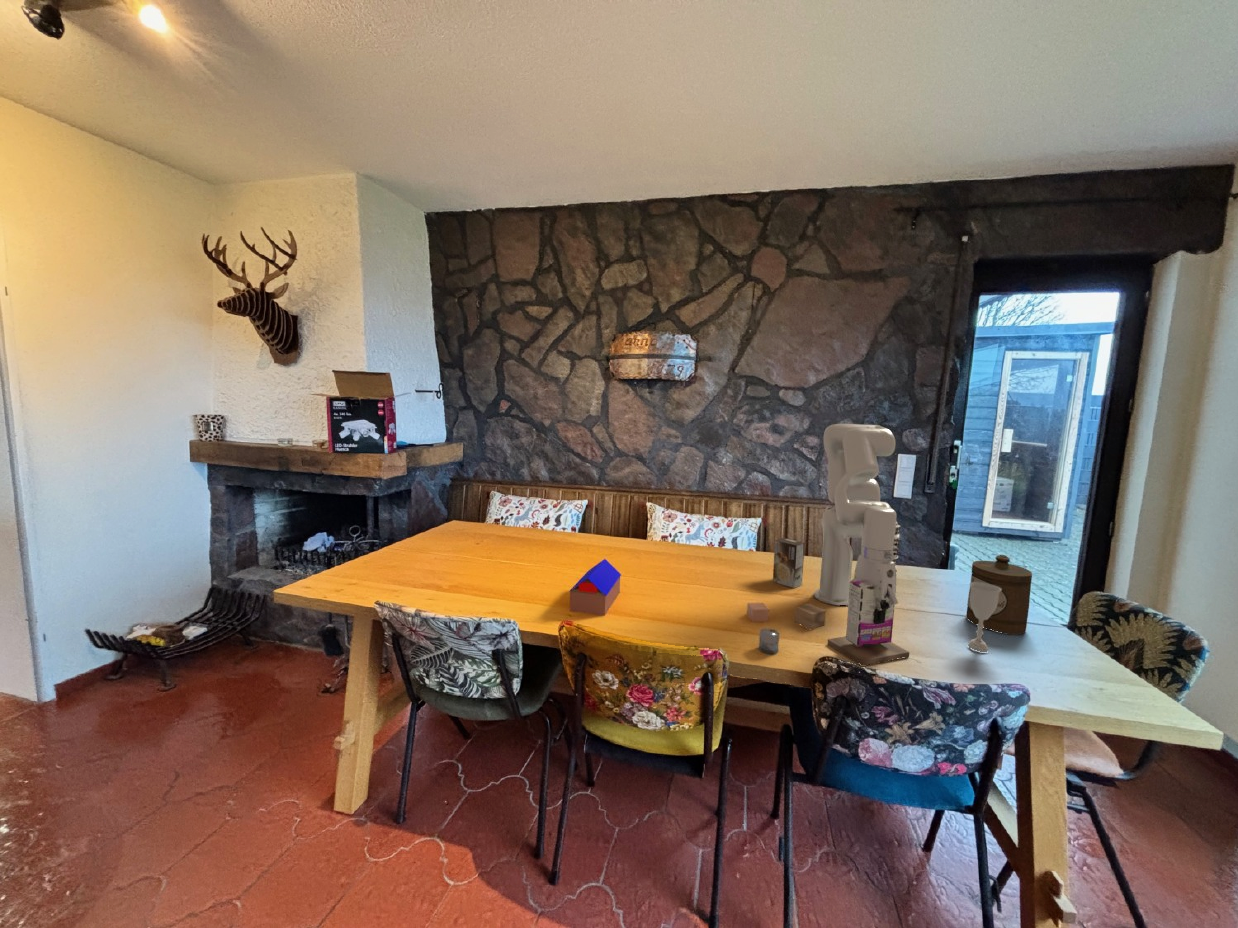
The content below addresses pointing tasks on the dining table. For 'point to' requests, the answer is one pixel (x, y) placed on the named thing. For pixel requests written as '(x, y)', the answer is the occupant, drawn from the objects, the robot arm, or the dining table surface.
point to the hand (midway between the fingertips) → (870, 617)
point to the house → (596, 590)
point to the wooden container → (1004, 594)
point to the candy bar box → (866, 617)
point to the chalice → (982, 609)
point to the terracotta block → (757, 612)
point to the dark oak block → (810, 616)
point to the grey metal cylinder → (769, 641)
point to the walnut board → (868, 651)
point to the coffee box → (788, 562)
